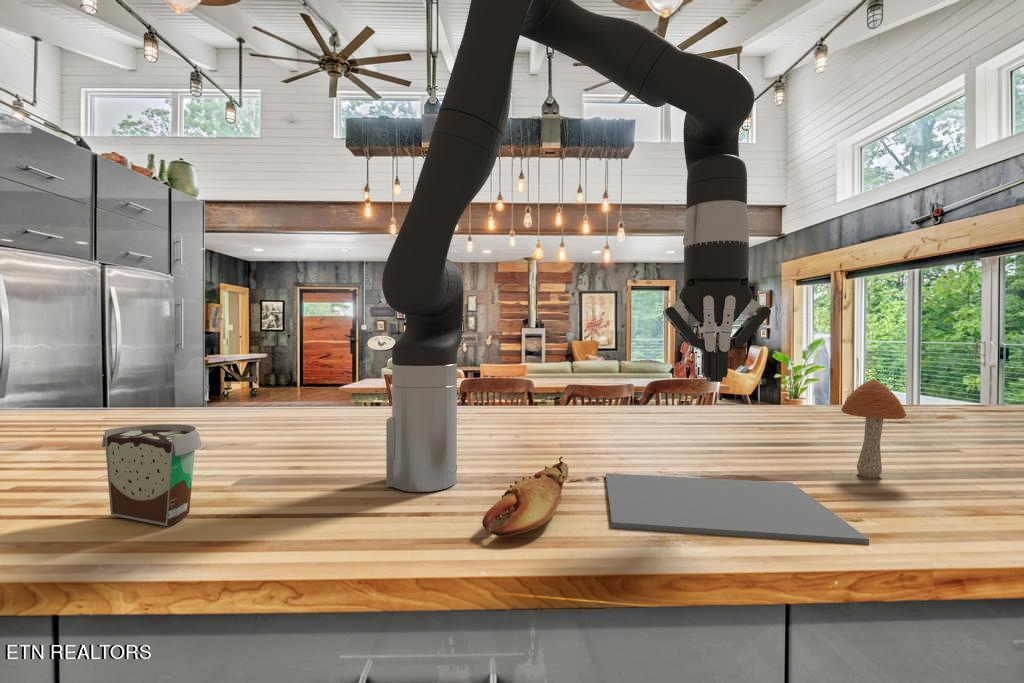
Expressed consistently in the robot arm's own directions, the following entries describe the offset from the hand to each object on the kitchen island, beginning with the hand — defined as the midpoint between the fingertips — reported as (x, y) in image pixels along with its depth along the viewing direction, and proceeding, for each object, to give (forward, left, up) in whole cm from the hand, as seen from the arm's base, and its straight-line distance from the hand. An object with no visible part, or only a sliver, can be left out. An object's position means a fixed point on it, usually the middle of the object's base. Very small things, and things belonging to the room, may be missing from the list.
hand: (714, 381), depth 61 cm
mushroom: (+27, +17, -16) cm, 35 cm away
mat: (0, 0, -16) cm, 16 cm away
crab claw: (-18, +3, -13) cm, 22 cm away
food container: (-66, -13, -16) cm, 69 cm away
